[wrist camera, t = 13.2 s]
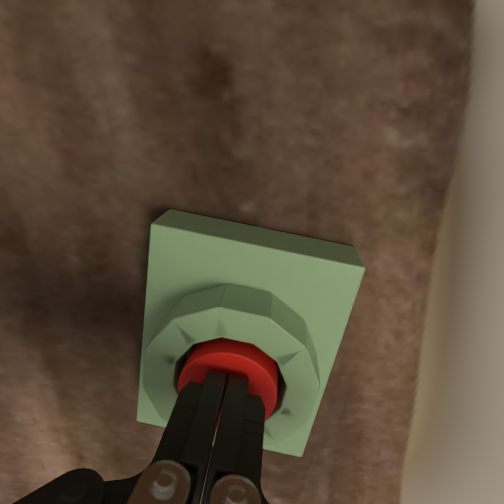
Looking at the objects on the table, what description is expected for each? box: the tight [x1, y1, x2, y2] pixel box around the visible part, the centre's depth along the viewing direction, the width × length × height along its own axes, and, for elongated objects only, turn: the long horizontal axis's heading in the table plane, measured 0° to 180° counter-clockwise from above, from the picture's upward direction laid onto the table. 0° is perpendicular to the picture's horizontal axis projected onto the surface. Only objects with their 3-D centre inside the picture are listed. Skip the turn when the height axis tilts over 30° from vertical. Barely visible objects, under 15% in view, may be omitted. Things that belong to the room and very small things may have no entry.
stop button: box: [178, 337, 278, 427], centre depth 13 cm, size 4×4×2 cm
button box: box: [137, 209, 365, 457], centre depth 15 cm, size 10×8×4 cm
